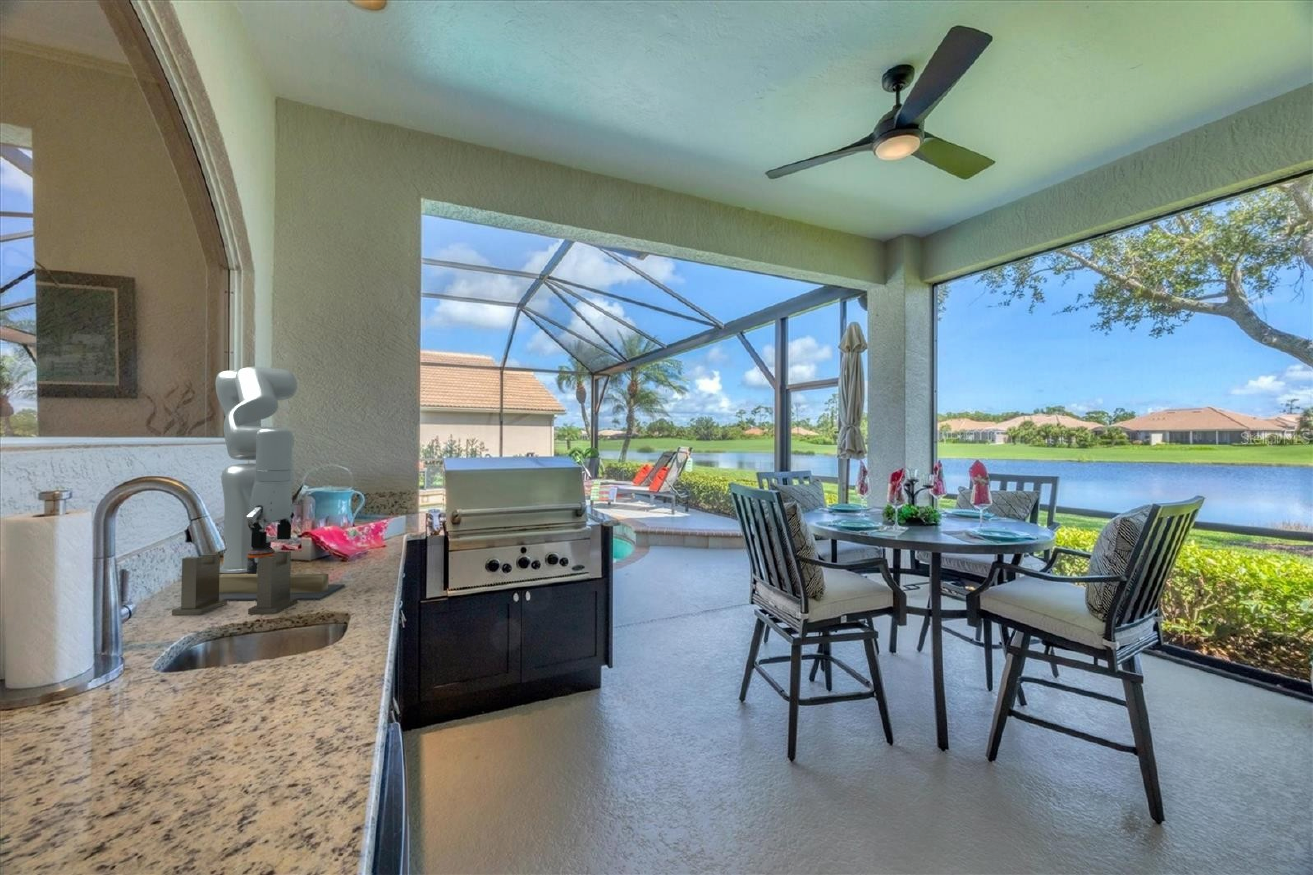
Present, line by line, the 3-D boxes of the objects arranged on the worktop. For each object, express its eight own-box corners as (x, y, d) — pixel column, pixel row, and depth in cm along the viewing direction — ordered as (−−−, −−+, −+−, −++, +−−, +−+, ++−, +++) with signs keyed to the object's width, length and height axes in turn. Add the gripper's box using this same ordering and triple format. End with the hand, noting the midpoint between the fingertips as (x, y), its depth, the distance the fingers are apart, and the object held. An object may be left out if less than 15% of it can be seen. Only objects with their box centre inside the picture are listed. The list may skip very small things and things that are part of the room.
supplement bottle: (262, 586, 138) (263, 544, 138) (240, 586, 138) (241, 543, 139) (279, 580, 144) (280, 539, 144) (258, 580, 144) (259, 539, 145)
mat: (226, 587, 137) (226, 585, 137) (344, 586, 139) (344, 584, 139) (189, 601, 125) (189, 598, 125) (319, 600, 127) (319, 597, 127)
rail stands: (200, 603, 123) (201, 551, 123) (297, 602, 125) (298, 551, 125) (171, 615, 115) (173, 558, 115) (276, 614, 117) (277, 558, 117)
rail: (221, 589, 133) (222, 574, 133) (328, 589, 135) (328, 573, 135) (212, 593, 130) (213, 577, 130) (321, 592, 132) (322, 576, 132)
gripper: (279, 473, 141) (278, 536, 141) (233, 479, 124) (231, 551, 124) (308, 474, 141) (307, 536, 142) (266, 480, 124) (264, 551, 124)
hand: (271, 543), depth 133 cm, fingers open, 9 cm apart
